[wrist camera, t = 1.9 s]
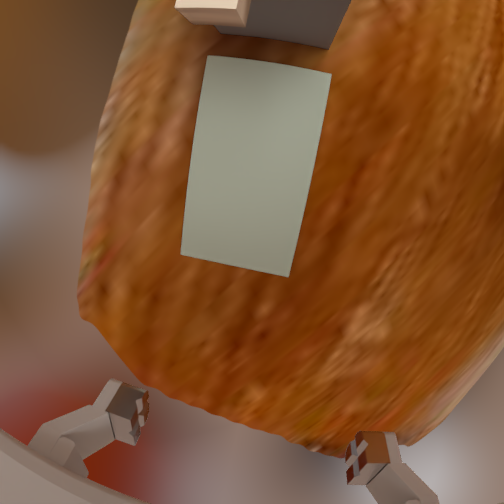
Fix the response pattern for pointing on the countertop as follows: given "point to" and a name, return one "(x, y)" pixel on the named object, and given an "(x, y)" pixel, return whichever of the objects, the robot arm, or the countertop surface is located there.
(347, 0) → the charcoal stand
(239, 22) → the long maple bar
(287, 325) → the countertop surface
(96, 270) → the countertop surface
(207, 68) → the sage mat
